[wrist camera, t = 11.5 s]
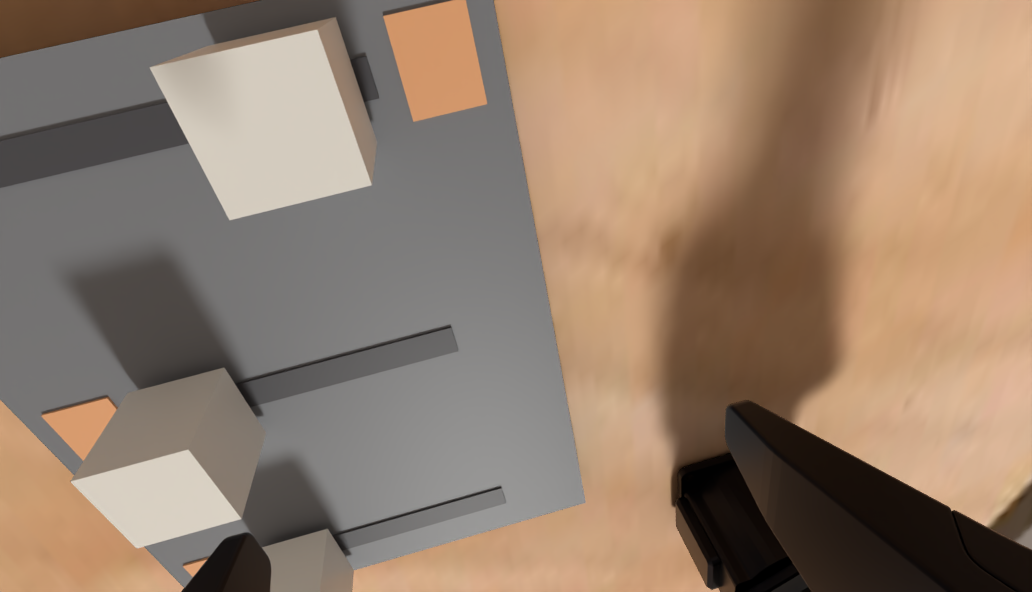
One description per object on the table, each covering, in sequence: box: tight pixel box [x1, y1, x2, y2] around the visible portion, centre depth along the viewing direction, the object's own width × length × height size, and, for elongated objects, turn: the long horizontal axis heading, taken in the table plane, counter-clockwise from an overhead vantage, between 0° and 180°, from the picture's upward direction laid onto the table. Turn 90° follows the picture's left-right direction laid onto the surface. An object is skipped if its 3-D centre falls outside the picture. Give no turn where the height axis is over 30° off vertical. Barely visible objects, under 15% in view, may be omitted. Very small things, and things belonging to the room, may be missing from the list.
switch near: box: [150, 17, 377, 220], centre depth 14 cm, size 4×4×4 cm
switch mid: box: [70, 368, 266, 548], centre depth 19 cm, size 4×4×4 cm
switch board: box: [0, 0, 586, 588], centre depth 22 cm, size 20×25×2 cm
